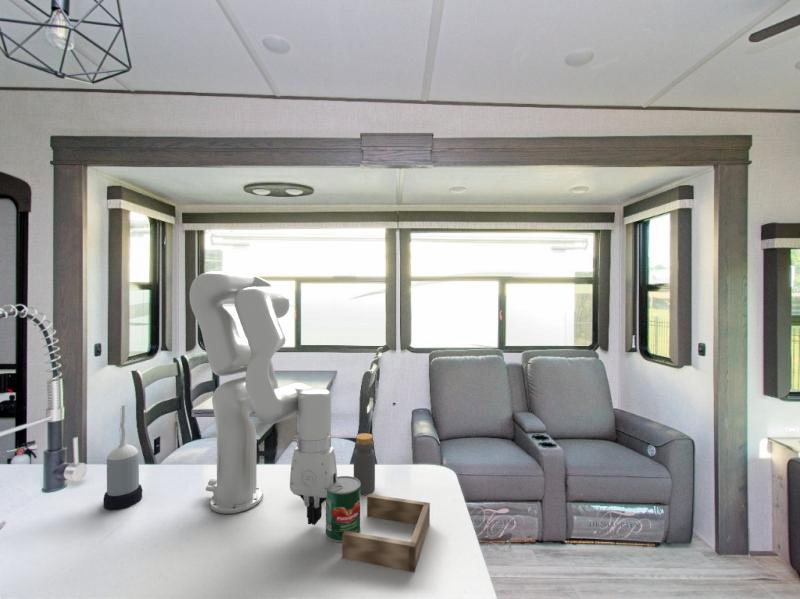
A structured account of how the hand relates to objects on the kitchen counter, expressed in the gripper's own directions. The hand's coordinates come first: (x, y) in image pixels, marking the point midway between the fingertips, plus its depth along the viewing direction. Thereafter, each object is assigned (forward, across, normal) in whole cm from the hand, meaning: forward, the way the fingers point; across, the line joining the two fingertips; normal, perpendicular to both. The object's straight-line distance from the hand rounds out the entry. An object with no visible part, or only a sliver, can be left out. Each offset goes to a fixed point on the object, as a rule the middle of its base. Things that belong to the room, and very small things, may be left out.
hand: (314, 521), depth 91 cm
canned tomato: (+2, +7, 0) cm, 7 cm away
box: (+1, +17, 0) cm, 17 cm away
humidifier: (+2, -53, -3) cm, 53 cm away
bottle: (+2, +5, +19) cm, 20 cm away
